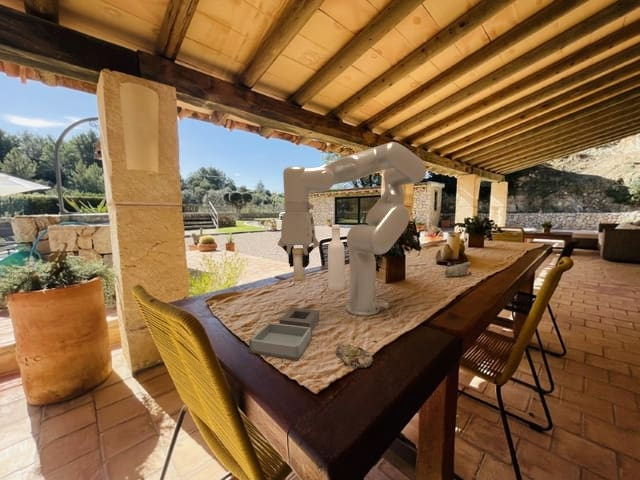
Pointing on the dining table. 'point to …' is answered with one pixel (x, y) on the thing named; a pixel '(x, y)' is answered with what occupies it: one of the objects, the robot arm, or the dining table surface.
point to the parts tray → (281, 340)
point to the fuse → (298, 265)
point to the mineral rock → (354, 356)
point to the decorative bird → (457, 270)
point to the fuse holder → (301, 317)
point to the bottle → (336, 261)
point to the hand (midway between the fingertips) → (299, 265)
